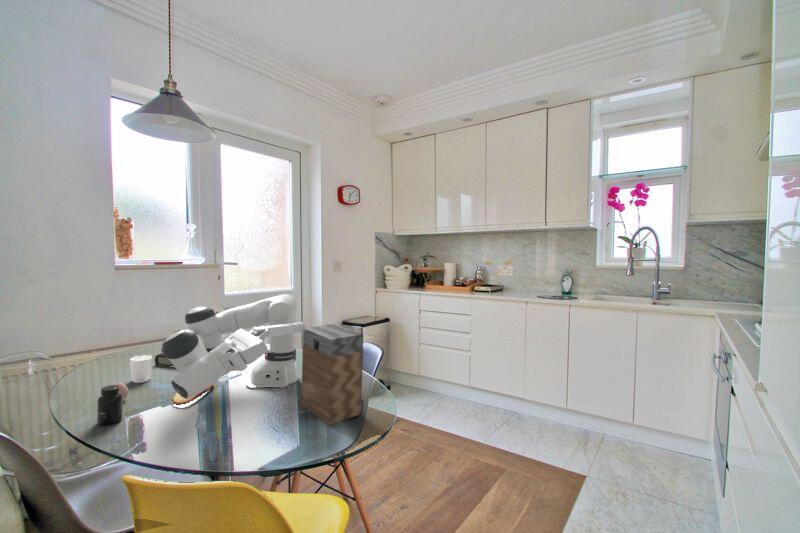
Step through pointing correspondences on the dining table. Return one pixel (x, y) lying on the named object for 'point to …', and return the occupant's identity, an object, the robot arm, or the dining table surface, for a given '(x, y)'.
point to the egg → (123, 389)
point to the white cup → (141, 368)
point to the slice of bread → (180, 400)
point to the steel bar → (280, 329)
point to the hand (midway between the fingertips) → (266, 329)
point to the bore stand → (332, 372)
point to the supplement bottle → (109, 406)
